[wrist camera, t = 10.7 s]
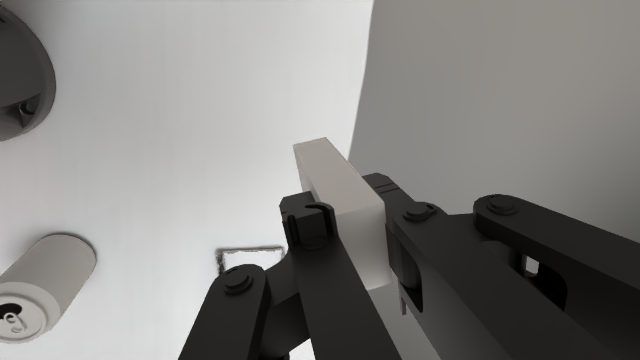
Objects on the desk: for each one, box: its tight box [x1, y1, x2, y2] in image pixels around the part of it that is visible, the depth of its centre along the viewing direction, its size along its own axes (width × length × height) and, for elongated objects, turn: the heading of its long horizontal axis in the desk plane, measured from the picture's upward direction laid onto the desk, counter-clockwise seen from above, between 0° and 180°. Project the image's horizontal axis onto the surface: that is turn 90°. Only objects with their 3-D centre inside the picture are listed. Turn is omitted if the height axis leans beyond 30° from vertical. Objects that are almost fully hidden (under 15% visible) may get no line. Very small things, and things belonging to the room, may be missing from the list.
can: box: [0, 235, 96, 344], centre depth 39 cm, size 8×8×12 cm
